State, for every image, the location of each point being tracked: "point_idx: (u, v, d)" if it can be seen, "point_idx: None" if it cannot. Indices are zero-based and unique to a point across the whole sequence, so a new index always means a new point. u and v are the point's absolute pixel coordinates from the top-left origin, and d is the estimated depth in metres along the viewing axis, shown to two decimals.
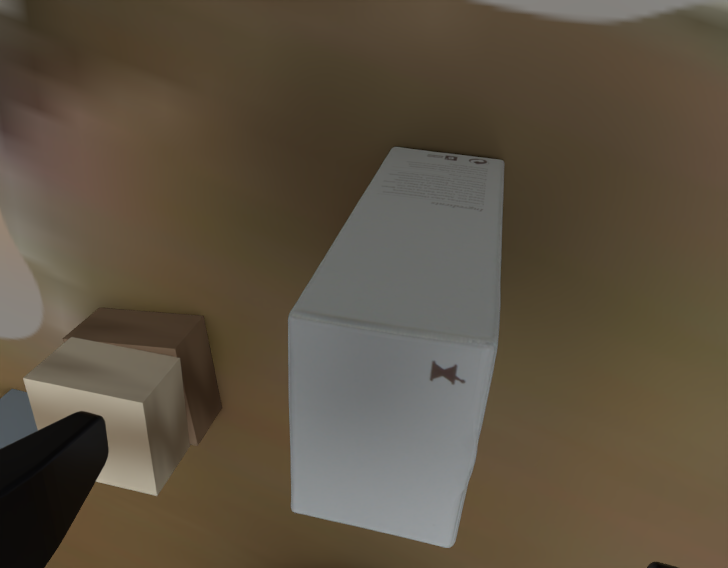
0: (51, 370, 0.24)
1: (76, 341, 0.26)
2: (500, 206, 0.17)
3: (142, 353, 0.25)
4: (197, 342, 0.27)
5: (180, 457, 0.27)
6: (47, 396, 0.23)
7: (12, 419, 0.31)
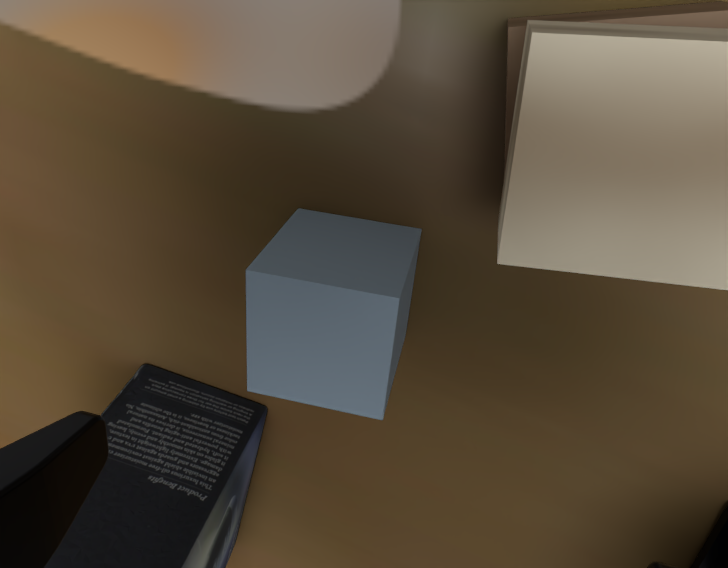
0: (566, 30, 0.12)
1: (546, 21, 0.14)
2: None
3: (686, 27, 0.13)
4: None
5: None
6: (574, 74, 0.12)
7: (328, 238, 0.19)
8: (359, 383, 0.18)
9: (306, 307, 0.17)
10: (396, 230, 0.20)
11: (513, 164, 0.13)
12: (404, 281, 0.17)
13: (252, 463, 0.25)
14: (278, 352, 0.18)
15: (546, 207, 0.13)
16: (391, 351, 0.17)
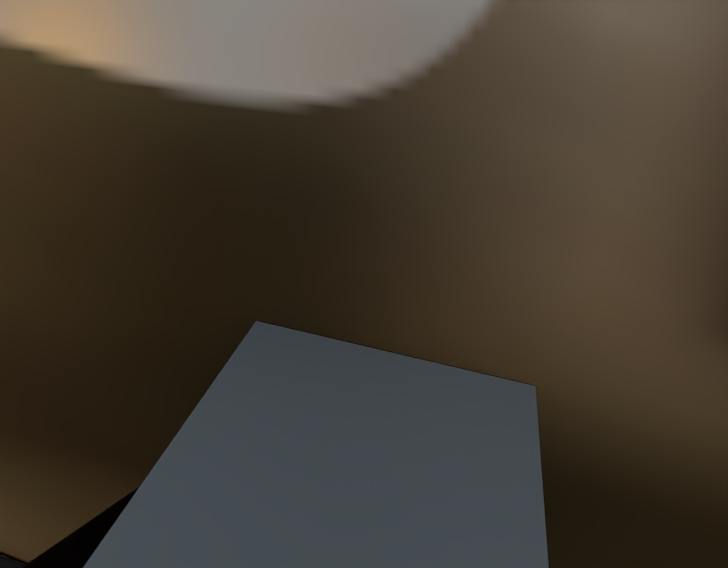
0: None
1: None
2: None
3: None
4: None
5: None
6: None
7: (320, 433, 0.07)
8: None
9: None
10: (480, 395, 0.09)
11: None
12: None
13: None
14: None
15: None
16: None
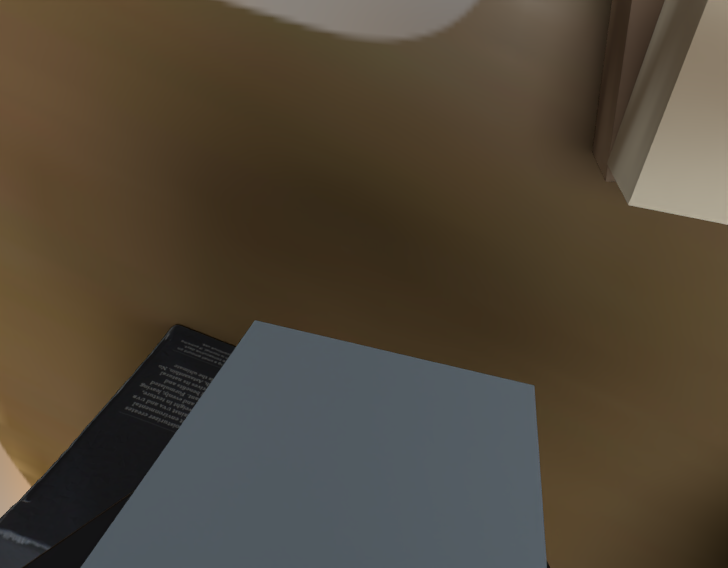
0: None
1: None
2: None
3: None
4: None
5: None
6: None
7: (318, 433, 0.07)
8: None
9: None
10: (479, 395, 0.09)
11: (676, 85, 0.11)
12: None
13: None
14: None
15: (703, 141, 0.12)
16: None
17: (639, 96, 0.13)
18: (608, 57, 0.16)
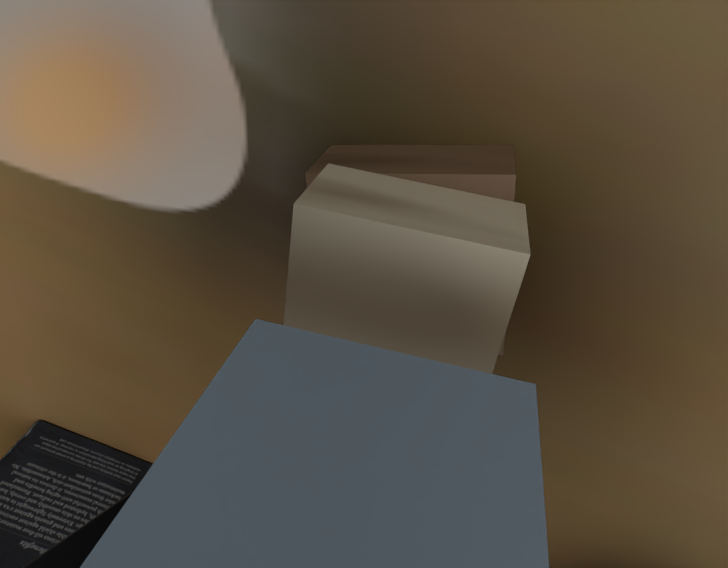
0: (333, 198, 0.13)
1: (342, 169, 0.15)
2: None
3: (461, 193, 0.15)
4: None
5: None
6: (331, 242, 0.13)
7: (320, 431, 0.07)
8: None
9: None
10: (481, 393, 0.09)
11: (286, 306, 0.14)
12: None
13: None
14: None
15: None
16: None
17: None
18: None
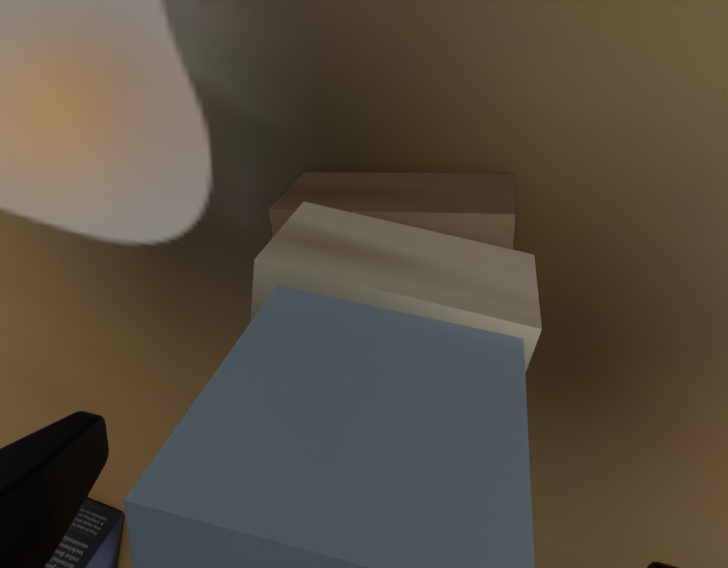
0: (304, 251, 0.11)
1: (319, 209, 0.13)
2: None
3: (459, 240, 0.13)
4: None
5: None
6: None
7: (336, 372, 0.09)
8: None
9: None
10: (475, 345, 0.10)
11: None
12: (530, 526, 0.07)
13: None
14: None
15: None
16: None
17: None
18: None
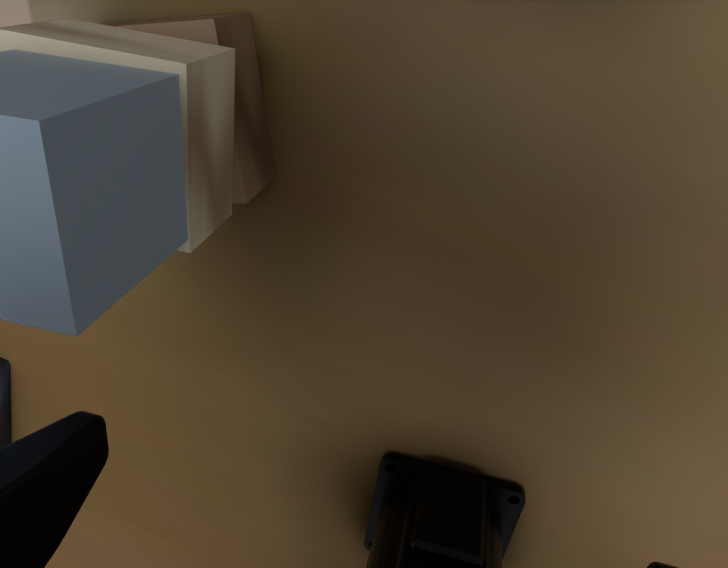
0: (39, 30, 0.15)
1: (78, 21, 0.17)
2: None
3: (179, 39, 0.17)
4: (243, 44, 0.18)
5: (221, 221, 0.18)
6: None
7: (14, 71, 0.13)
8: (29, 276, 0.12)
9: None
10: (135, 72, 0.14)
11: None
12: (76, 109, 0.11)
13: None
14: None
15: None
16: (55, 218, 0.11)
17: None
18: None
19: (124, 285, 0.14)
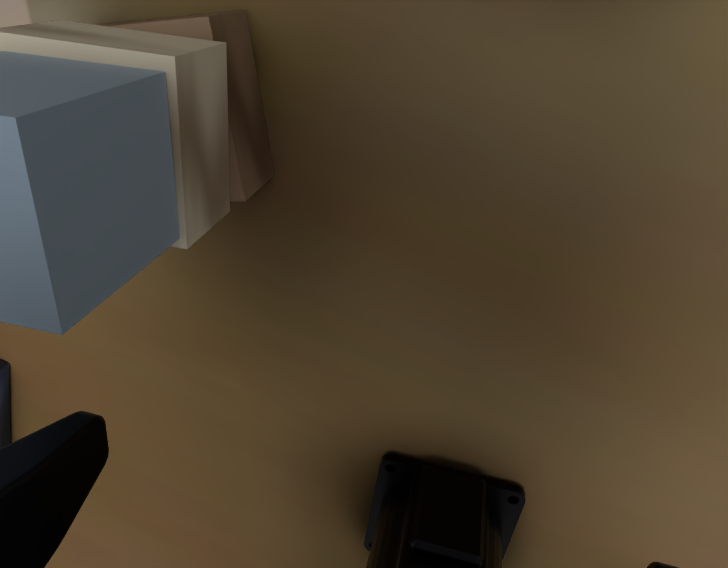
0: (29, 30, 0.15)
1: (70, 22, 0.17)
2: None
3: (170, 35, 0.17)
4: (239, 42, 0.18)
5: (219, 218, 0.18)
6: None
7: None
8: (13, 274, 0.12)
9: None
10: (121, 71, 0.14)
11: None
12: (56, 106, 0.11)
13: None
14: None
15: None
16: (36, 216, 0.11)
17: None
18: None
19: (112, 284, 0.14)
